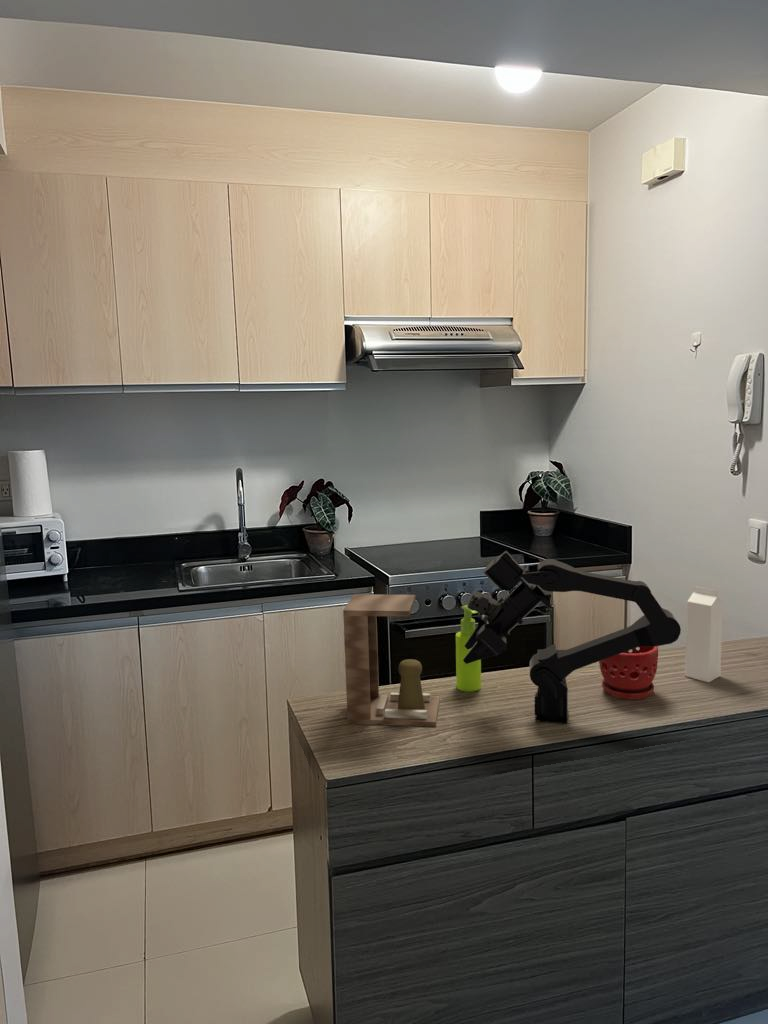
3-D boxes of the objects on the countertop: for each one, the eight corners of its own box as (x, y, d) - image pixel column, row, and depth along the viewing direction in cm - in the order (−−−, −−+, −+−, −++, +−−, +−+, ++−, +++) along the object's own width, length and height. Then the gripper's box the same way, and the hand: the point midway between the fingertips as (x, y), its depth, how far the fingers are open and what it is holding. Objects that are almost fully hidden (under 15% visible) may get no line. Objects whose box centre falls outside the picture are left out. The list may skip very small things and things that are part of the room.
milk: (696, 670, 188) (699, 583, 185) (720, 676, 183) (724, 587, 180) (684, 676, 184) (687, 588, 181) (708, 683, 180) (711, 592, 176)
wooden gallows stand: (439, 701, 173) (437, 594, 169) (435, 726, 161) (433, 611, 157) (357, 699, 176) (354, 594, 172) (347, 723, 163) (343, 610, 159)
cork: (415, 716, 163) (414, 667, 162) (392, 710, 167) (390, 662, 165) (430, 706, 168) (429, 659, 167) (407, 701, 172) (406, 654, 170)
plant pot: (591, 682, 182) (592, 634, 180) (647, 681, 182) (648, 633, 180) (605, 704, 169) (606, 653, 167) (665, 703, 169) (666, 652, 167)
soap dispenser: (466, 694, 177) (465, 611, 174) (452, 684, 183) (450, 604, 180) (488, 690, 179) (487, 608, 176) (473, 680, 185) (472, 601, 182)
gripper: (489, 569, 170) (441, 616, 173) (489, 590, 152) (435, 642, 155) (525, 603, 170) (476, 650, 173) (529, 629, 152) (474, 680, 155)
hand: (465, 654), depth 164 cm, fingers open, 9 cm apart
